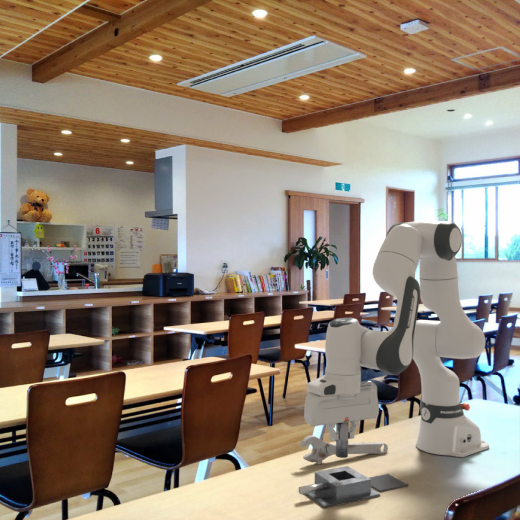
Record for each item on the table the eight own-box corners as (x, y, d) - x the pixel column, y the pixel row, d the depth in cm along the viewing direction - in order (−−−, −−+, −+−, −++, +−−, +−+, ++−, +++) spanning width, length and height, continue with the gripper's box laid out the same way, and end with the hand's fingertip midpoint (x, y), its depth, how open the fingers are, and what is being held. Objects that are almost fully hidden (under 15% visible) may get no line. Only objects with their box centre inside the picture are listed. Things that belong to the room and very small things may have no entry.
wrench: (386, 462, 173) (300, 466, 160) (383, 460, 175) (297, 464, 162) (389, 435, 174) (303, 437, 161) (385, 433, 175) (300, 435, 162)
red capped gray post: (343, 452, 146) (344, 412, 146) (352, 457, 143) (353, 416, 143) (331, 454, 145) (331, 414, 145) (339, 459, 141) (340, 418, 141)
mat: (388, 475, 155) (388, 473, 155) (408, 485, 148) (408, 484, 148) (360, 480, 151) (360, 479, 151) (379, 492, 144) (379, 490, 144)
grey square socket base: (351, 479, 152) (351, 463, 152) (379, 496, 142) (380, 479, 142) (288, 491, 144) (288, 475, 144) (313, 510, 133) (313, 492, 133)
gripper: (369, 378, 151) (368, 431, 151) (301, 384, 142) (300, 440, 142) (384, 382, 145) (383, 437, 145) (314, 389, 137) (314, 448, 136)
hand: (342, 439), depth 144 cm, fingers closed on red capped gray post, 3 cm apart
